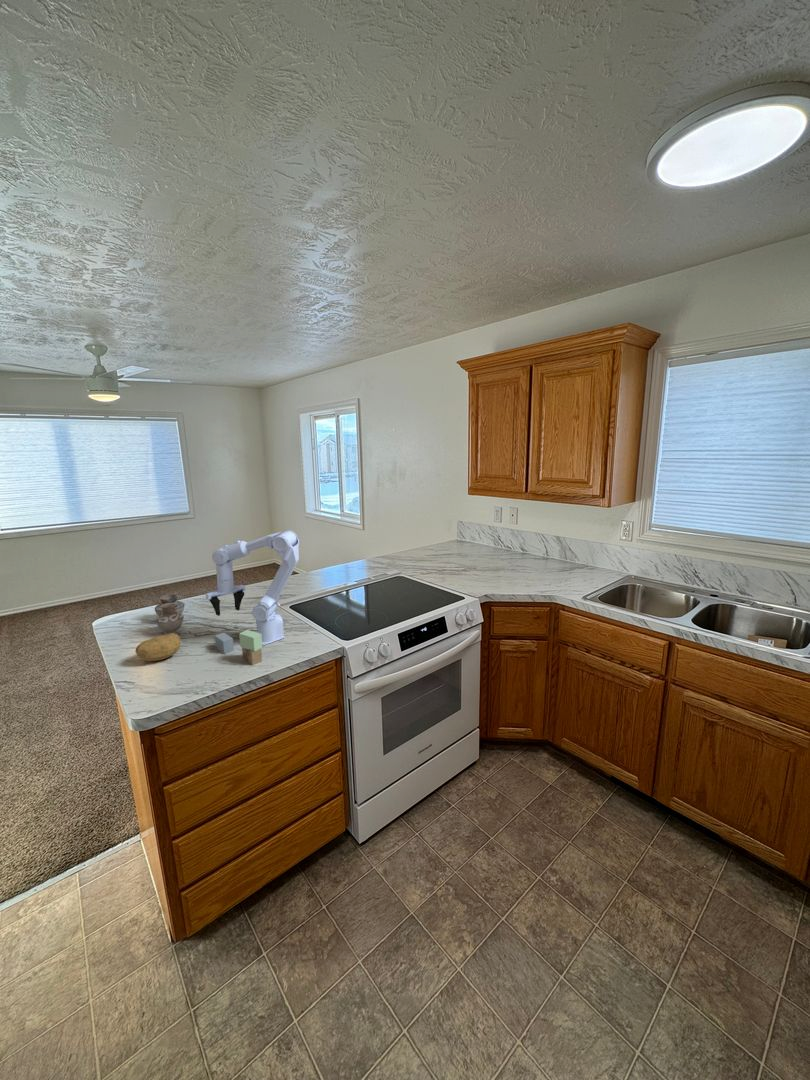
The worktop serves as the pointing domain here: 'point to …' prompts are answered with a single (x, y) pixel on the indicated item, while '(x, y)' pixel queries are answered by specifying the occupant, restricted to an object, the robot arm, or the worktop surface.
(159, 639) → the potato
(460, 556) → the worktop surface
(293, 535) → the robot arm
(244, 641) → the green brick
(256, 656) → the walnut brick
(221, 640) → the slate brick
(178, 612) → the pottery
